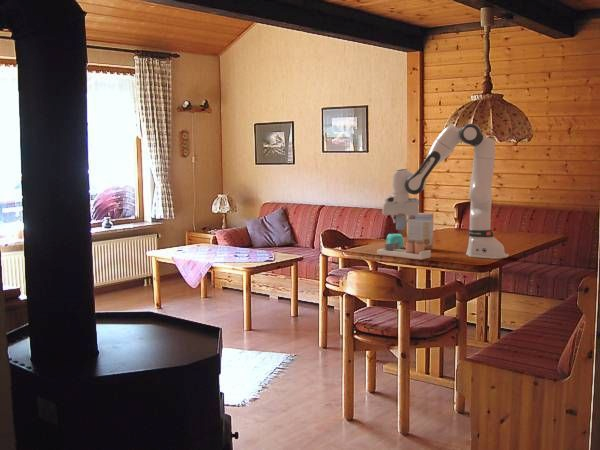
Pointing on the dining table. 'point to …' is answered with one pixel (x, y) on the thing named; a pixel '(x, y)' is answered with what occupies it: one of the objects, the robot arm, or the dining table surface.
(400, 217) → the blue jar
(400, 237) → the decorative dice
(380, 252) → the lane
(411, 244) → the jar
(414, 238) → the cracker box
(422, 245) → the jar front
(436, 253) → the dining table surface
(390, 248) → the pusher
